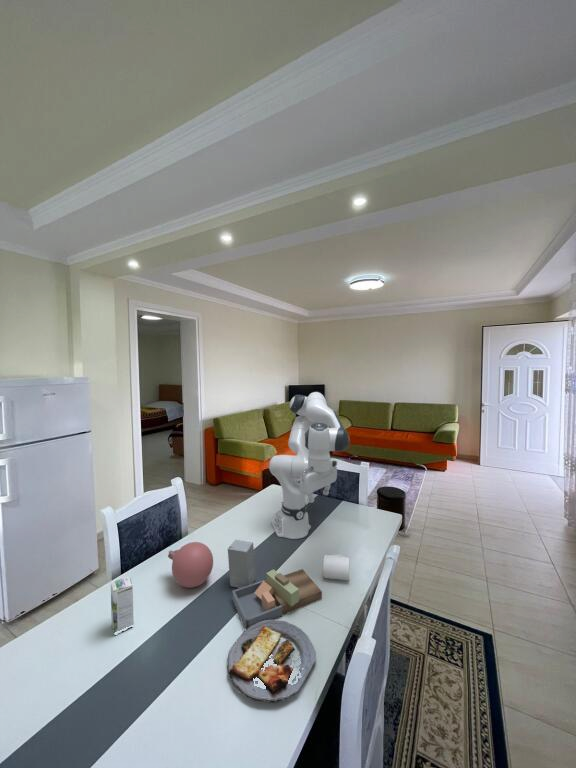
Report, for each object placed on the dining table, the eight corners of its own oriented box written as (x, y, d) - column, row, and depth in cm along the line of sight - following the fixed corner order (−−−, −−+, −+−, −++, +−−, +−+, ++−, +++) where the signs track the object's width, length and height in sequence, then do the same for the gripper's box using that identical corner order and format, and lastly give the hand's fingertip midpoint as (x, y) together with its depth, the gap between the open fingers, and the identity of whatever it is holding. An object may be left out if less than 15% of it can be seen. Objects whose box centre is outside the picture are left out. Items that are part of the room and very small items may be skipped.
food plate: (281, 727, 74) (281, 713, 74) (210, 677, 87) (209, 664, 86) (326, 648, 95) (326, 637, 95) (264, 617, 108) (264, 607, 108)
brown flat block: (265, 589, 120) (265, 581, 120) (302, 576, 127) (302, 568, 127) (282, 615, 107) (282, 606, 107) (321, 599, 115) (321, 591, 115)
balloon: (185, 562, 136) (184, 528, 135) (221, 577, 126) (221, 540, 125) (155, 584, 122) (153, 546, 121) (193, 603, 113) (192, 561, 112)
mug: (348, 585, 122) (349, 565, 121) (322, 582, 124) (323, 562, 123) (349, 566, 134) (349, 547, 133) (325, 563, 136) (325, 545, 135)
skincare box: (255, 580, 125) (255, 541, 124) (247, 592, 118) (247, 551, 117) (236, 575, 128) (236, 537, 127) (227, 587, 121) (227, 547, 120)
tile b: (268, 604, 112) (261, 606, 110) (268, 590, 111) (261, 593, 110) (274, 613, 107) (268, 616, 106) (274, 599, 107) (268, 602, 106)
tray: (232, 600, 114) (231, 590, 114) (264, 588, 120) (264, 579, 120) (246, 631, 101) (246, 620, 101) (282, 616, 107) (282, 606, 107)
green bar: (266, 584, 118) (266, 570, 117) (273, 580, 120) (273, 566, 120) (291, 606, 107) (291, 590, 107) (298, 601, 110) (298, 585, 109)
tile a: (257, 597, 115) (254, 593, 114) (266, 584, 118) (263, 580, 117) (265, 604, 111) (262, 600, 110) (274, 591, 114) (271, 587, 113)
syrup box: (111, 624, 104) (109, 582, 103) (130, 616, 107) (129, 575, 106) (114, 636, 99) (112, 592, 98) (134, 627, 103) (133, 584, 102)
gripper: (308, 472, 117) (308, 509, 118) (339, 460, 132) (339, 492, 133) (295, 469, 121) (295, 504, 122) (327, 457, 136) (327, 488, 137)
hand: (318, 498), depth 127 cm, fingers open, 8 cm apart
